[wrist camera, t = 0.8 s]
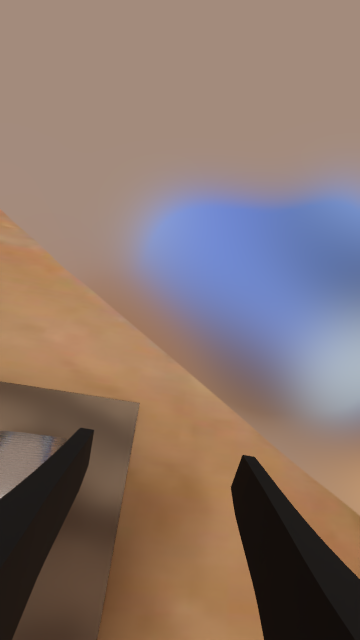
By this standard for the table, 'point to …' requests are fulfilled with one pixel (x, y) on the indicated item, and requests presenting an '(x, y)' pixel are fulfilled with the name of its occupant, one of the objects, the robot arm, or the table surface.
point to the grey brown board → (75, 507)
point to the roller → (23, 456)
